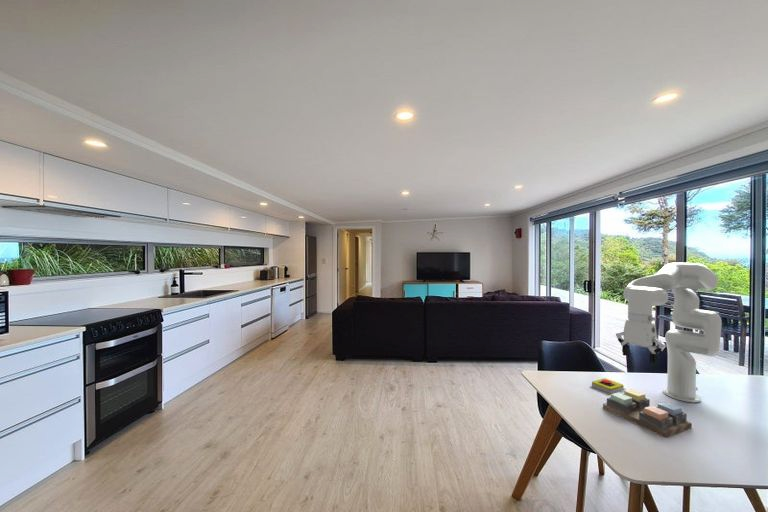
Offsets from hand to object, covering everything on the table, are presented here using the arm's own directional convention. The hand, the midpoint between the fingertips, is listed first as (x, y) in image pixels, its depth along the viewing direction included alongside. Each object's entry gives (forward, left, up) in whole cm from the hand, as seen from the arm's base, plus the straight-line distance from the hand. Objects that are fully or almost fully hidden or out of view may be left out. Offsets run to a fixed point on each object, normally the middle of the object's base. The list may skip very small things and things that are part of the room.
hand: (639, 358), depth 122 cm
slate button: (-6, +7, -21) cm, 23 cm away
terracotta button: (+3, +7, -21) cm, 22 cm away
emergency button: (-16, -22, -25) cm, 37 cm away
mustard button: (-6, -5, -21) cm, 22 cm away
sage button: (+3, -5, -21) cm, 21 cm away
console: (-2, +1, -24) cm, 24 cm away
